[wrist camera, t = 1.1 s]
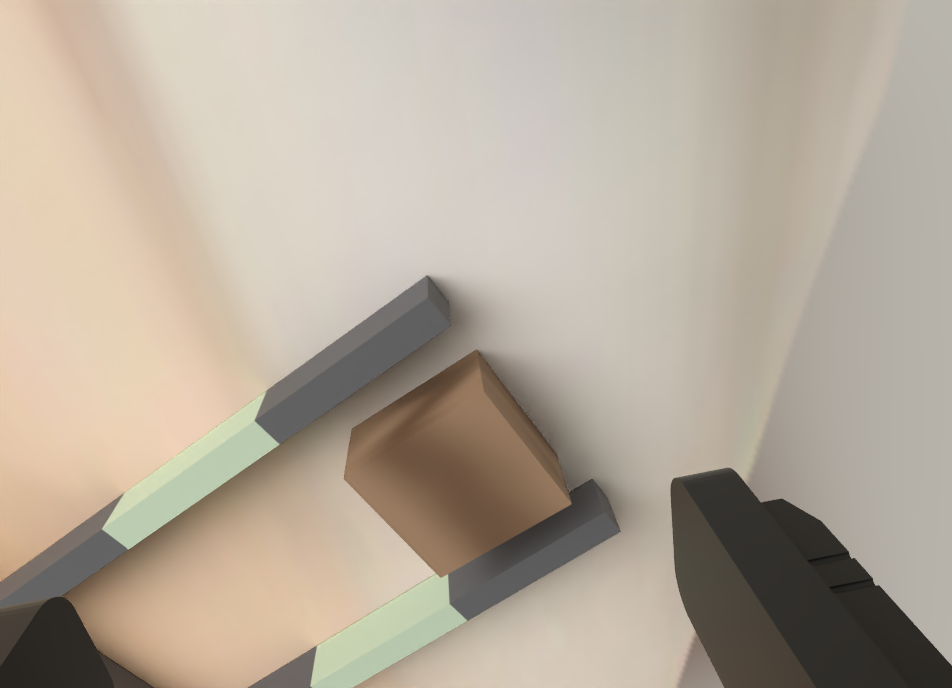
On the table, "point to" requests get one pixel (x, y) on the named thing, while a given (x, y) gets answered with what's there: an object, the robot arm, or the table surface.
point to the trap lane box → (268, 425)
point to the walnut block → (456, 466)
